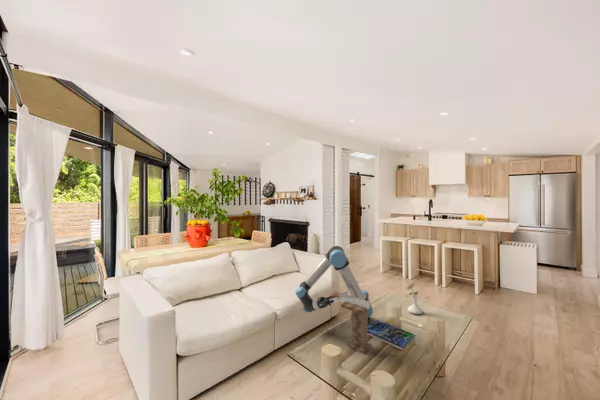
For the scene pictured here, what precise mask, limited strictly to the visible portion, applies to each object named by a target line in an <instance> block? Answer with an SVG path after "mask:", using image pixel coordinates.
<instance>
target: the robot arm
mask: <svg viewBox="0 0 600 400" xmlns="http://www.w3.org/2000/svg"><path fill="white" fill-rule="evenodd" d="M324 256H325V257H324V258H323V259H322V260H321V261H320V262H319V264H317V266H316V267H315V268H314V269H313V270H312V272H311V273H310V274H309V275H308V276H307V277H306V279H304V281H302V282H301V283H300V284H299V286H298V288H296V290H295V296H297V298H298V300H299V301H300V302H301V303H302V311H303V312H304V313H306V314H308V313H312V312H314V311H317V310H319V311H320V310H321V309H325V308H326V307H328V306H331V305H332V304H335V303H338V302H339V301H338V298H337V297H336V298H333V299H332V295H330V296H327V297H325V296H320V297H317V298H314V299H312V297H311V295H310V294H309V291H310V290H311V289H312V287H314V285H315V284H316V283H317V282H318V280H320V279H321V277H323V275H324V274H325V273H326V271H328V270H329V268H331V266H332V267H333V269H334V270H335V271H337V272H338V273H339V276H340V277H341V279H342V281H343V283H344V285H345V287H346V290H344V291H338V292H339V293H342V294H345V295H349V296H352V297H356V298H359V299H362V300H366V301H369V302H370V309H369V310H368V324H369V323H370V322H371V316H372V315H373V312H374V311H373V306H372V303H371V301H370V299H369V296H370V295H369V292H368V291H367V290H364V289H361V287H360V285H359V284H358V282H357V279H356V277H355V276H354V274H353V272H352V269H351V267H350V261H349V260H348V256H346V254H345V250H344V249H343V247H341V246H339V245H334V246H332V247H331V248H329V250H328V251H327V252H326V254H325V255H324ZM350 320H351V321H352V313H351V314H350Z"/></svg>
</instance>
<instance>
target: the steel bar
mask: <svg viewBox="0 0 600 400" xmlns="http://www.w3.org/2000/svg"><path fill="white" fill-rule="evenodd" d="M339 292H340V291H335V290H334V292H332V293H331V296H332V299H333V298H336V297H337V298H338V302H341V303H346V304H350V305H353V306H356V307H359V308H362V309H365V310H368V309H369V308H370V304H371V301H370V300H369V301H370V302H369V301H366V300H362V299H359V298H356V297H352V296H351V295H350V294H348V295H345V294H342V293H339Z"/></svg>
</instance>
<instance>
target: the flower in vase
mask: <svg viewBox="0 0 600 400" xmlns="http://www.w3.org/2000/svg"><path fill="white" fill-rule="evenodd" d="M414 287H415V283H413V282H412V283H409V284H408V285H407V286H406V290H412V292H410V293H408V295H409V296H412V299H413V304H412V305H410V306H408V307H407V311H408V312H409V313H411V314H413V315H421V314H422V313H423V309H422V308H421V307H420V306H419V305H418V304H417V302H418V298H419V297H420V296H419V295H418V294H419V292H418V291H415V292H414V290H413V288H414Z"/></svg>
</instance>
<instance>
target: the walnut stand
mask: <svg viewBox="0 0 600 400" xmlns="http://www.w3.org/2000/svg"><path fill="white" fill-rule="evenodd" d="M340 306H341V308H343V309H346V310H349V311H351V314H352V320H351V340H350V341H349V343H347V348H349V349H351V350H354V351H356V352H359V353H360V354H363V355H365V354H366V353H367V352H368V351H369V350H370V348H371V347H372V344H371V343H370V342H368V329H369V328H368V326H369V325H368V324H369V323H368V310H369V309H370V308H369V309H368V310H365V309H362V308H359V307H356V306H353V305H350V304H346V303H343V302H341V305H340Z"/></svg>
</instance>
